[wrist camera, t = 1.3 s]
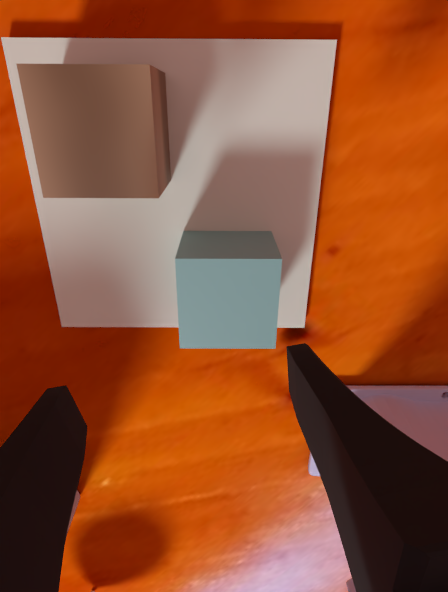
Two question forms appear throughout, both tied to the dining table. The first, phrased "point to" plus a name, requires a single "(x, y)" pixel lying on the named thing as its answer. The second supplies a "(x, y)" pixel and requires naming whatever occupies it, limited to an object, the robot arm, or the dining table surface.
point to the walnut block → (98, 129)
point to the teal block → (228, 289)
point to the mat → (191, 171)
